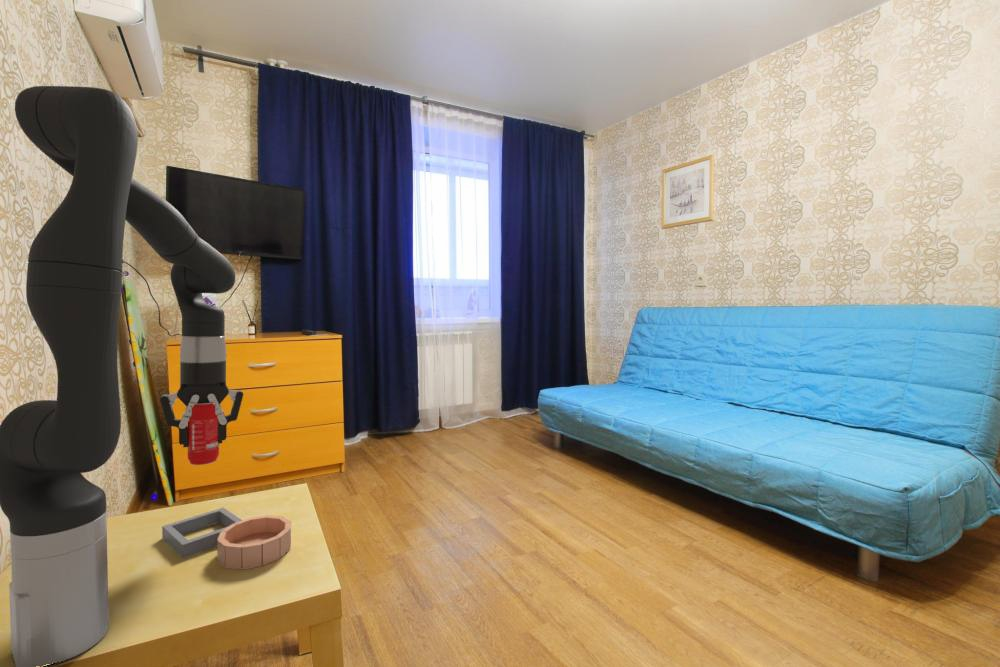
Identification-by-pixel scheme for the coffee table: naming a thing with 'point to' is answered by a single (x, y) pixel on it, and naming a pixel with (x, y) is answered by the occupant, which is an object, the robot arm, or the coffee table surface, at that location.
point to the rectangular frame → (177, 529)
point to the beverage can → (203, 434)
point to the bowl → (254, 542)
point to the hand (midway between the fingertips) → (203, 444)
